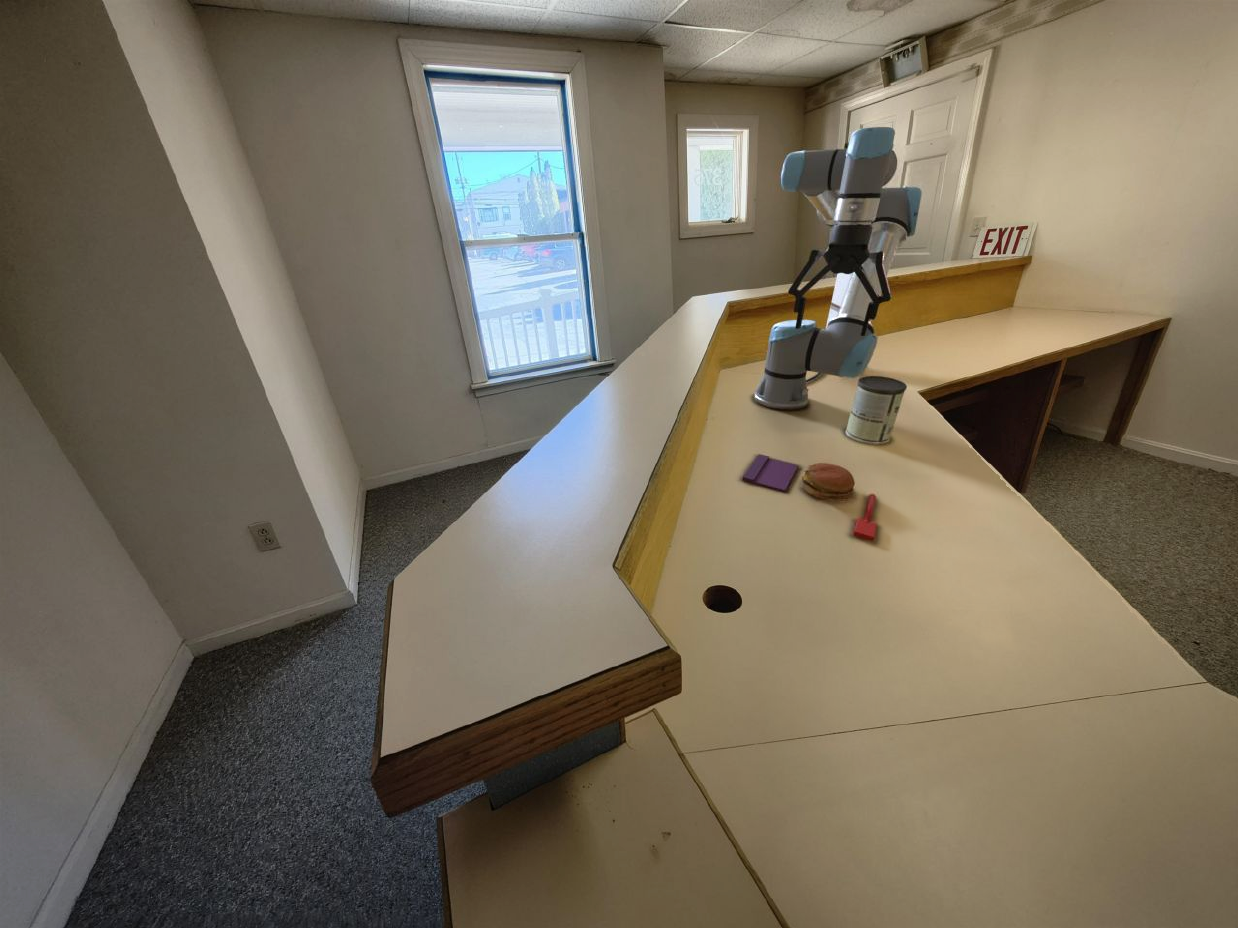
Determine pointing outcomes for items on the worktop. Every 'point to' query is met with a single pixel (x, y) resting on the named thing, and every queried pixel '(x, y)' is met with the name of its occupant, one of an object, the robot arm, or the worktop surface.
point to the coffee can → (875, 409)
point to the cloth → (770, 473)
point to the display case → (838, 295)
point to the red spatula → (866, 522)
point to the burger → (828, 481)
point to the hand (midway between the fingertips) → (829, 331)
